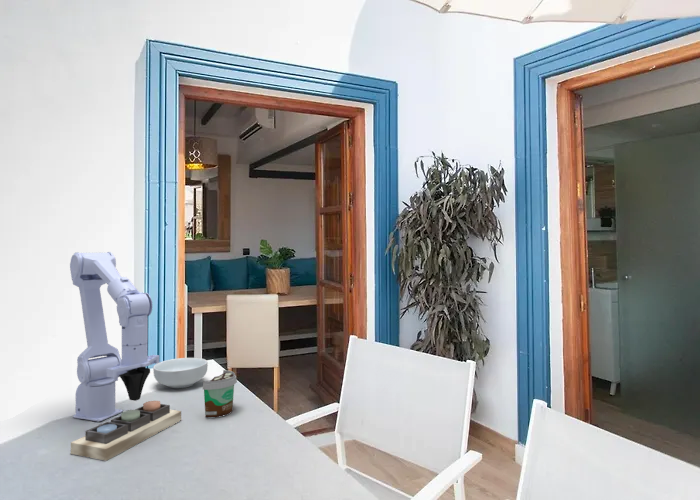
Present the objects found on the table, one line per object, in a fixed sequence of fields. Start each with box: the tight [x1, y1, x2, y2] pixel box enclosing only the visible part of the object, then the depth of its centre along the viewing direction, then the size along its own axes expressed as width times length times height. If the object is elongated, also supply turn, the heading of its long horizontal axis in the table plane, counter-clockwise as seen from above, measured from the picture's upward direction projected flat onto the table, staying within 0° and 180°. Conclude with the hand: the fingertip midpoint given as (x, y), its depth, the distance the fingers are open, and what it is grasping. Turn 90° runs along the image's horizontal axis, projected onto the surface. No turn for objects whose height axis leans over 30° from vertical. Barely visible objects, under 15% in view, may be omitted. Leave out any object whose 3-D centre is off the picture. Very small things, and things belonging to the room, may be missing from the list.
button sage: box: [121, 409, 140, 422], centre depth 112 cm, size 4×4×2 cm
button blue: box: [97, 424, 117, 433], centre depth 105 cm, size 4×4×2 cm
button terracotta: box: [142, 400, 161, 412], centre depth 119 cm, size 4×4×2 cm
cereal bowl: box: [153, 357, 209, 389], centre depth 153 cm, size 17×17×7 cm
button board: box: [70, 403, 182, 462], centre depth 112 cm, size 10×24×4 cm, turn 161°
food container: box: [202, 369, 238, 418], centre depth 128 cm, size 12×6×10 cm, turn 168°
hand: (134, 399), depth 113 cm, fingers closed
